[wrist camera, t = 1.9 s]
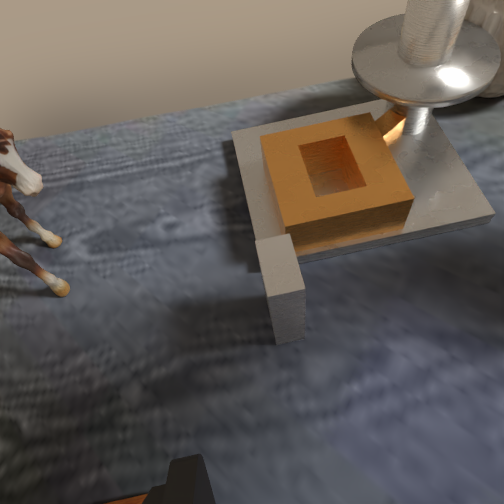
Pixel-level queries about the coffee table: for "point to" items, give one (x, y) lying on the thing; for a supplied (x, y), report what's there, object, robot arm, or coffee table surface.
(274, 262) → the grey rectangular peg
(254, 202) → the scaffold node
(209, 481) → the robot arm
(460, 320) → the coffee table surface
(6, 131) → the horse figurine
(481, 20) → the vase
